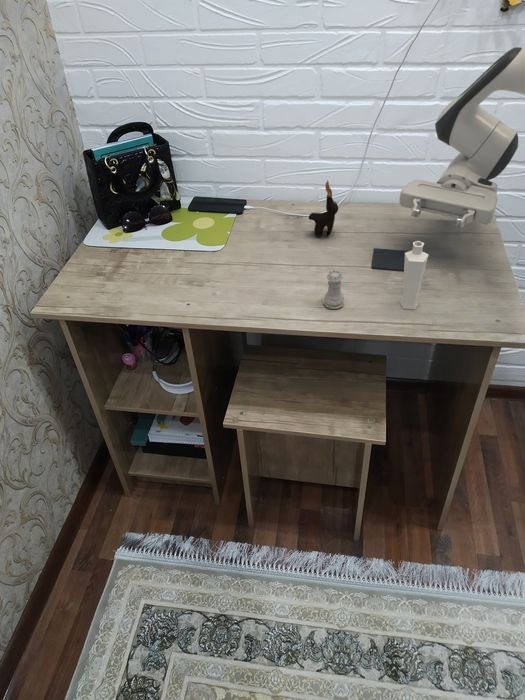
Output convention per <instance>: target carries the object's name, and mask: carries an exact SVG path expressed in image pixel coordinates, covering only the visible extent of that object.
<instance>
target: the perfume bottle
mask: <svg viewBox="0 0 525 700" xmlns="http://www.w3.org/2000/svg"><path fill="white" fill-rule="evenodd" d="M424 245H425V243H424V242H423V241H420V240H416V241H414V242H412V250H408V251H409V252H406V253H405V262H404V271H403V281H402V282H403V284H402V297H401V299H400V301H399V302H400V305H401V307H402V309H404V310H405V309H406V310H416V309H417V307H418V305H419V304H420V302H419V295H420V290H421V287H422V282H423V280H424V279H423V278H424V275H425V270H426V266H427V263H428V259H429V253H426V251H425V252H424V251H423V248H424Z"/></svg>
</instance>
